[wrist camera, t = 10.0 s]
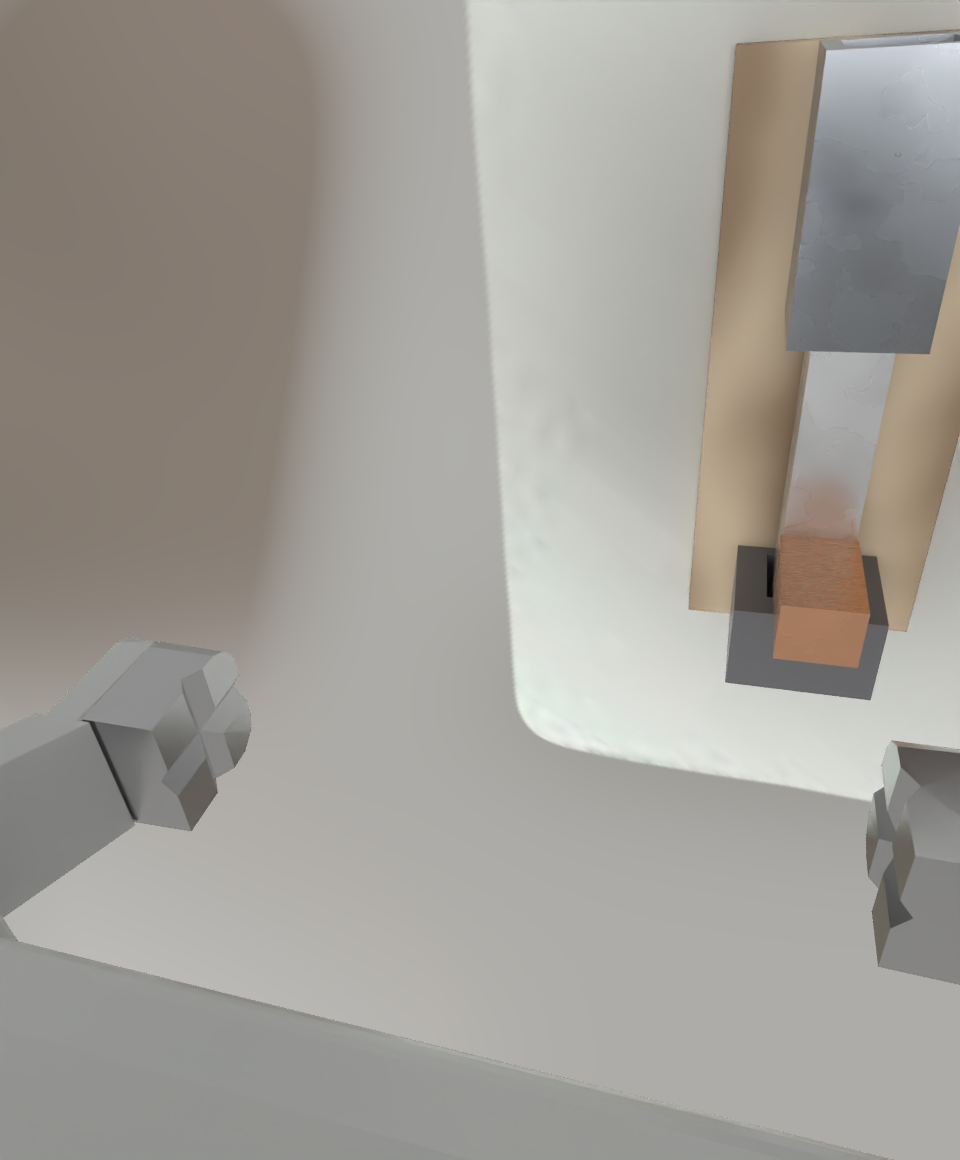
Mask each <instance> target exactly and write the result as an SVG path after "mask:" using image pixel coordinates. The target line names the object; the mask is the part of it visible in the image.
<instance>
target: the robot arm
mask: <svg viewBox="0 0 960 1160" xmlns="http://www.w3.org/2000/svg"><path fill="white" fill-rule="evenodd" d="M238 677H239V672H238V670H237V667H236V664H235V661H234V658H233V656H232V655H229V654H227V653H225V652H222V651H215V650H210V649H204V648H197V647H191V646H184V645H179V644H172V643H166V642H154V641H148V640H143V639H136V638H131V637H130V638H127V639H124V640H121V641H118V642H117V643H116V644H115V645H114V646H113V647H112V648H111V649H110V650H109V651H108V652H107V653H106V654H105V655H104V656H103V657H102V658H101V659H100V660H99V661H98V662H97V664H95V665H94V666H93V667H92V668H91V669H90V670H89V672H87V673H86V675H85V676H84V677H83V678H82V679H81V680H80V681H79V682H78V683H77V684H76V685H75V686H74V687H73V688H72V689H71V690H70V691H69V692H68V693H67V694H66V695H65V696H64V697H63V698H62V699H61V700H60V701H59V702H58V703H57V704H56V705H55V706H54V707H53V708H52V709H51V710H50V711H49V712H48V713H47V714H46V715H42V714H34V715H32V716H30V717H27V718H25V719H23V720H21V721H18V722H17V723H14V724H12V725H10V726H8V727H6V728H3V729H1V730H0V1160H893V1159H888V1158H884V1157H880V1156H876V1155H872V1154H868V1153H864V1152H860V1151H856V1150H852V1149H848V1148H844V1147H840V1146H836V1145H832V1144H828V1143H824V1142H820V1141H816V1140H812V1139H808V1138H804V1137H800V1136H796V1135H792V1134H788V1133H784V1132H780V1131H776V1130H772V1129H768V1128H764V1127H760V1126H756V1125H752V1124H748V1123H744V1122H740V1121H736V1120H732V1119H728V1118H724V1117H720V1116H716V1115H712V1114H708V1113H704V1112H700V1111H696V1110H692V1109H688V1108H684V1107H680V1106H676V1105H672V1104H668V1103H664V1102H660V1101H656V1100H652V1099H648V1098H644V1097H640V1096H636V1095H632V1094H627V1093H624V1092H620V1091H616V1090H612V1089H607V1088H604V1087H600V1086H596V1085H592V1084H588V1083H584V1082H580V1081H576V1080H572V1079H568V1078H564V1077H560V1076H556V1075H552V1074H548V1073H544V1072H540V1071H536V1070H532V1069H528V1068H524V1067H520V1066H516V1065H511V1064H508V1063H504V1062H500V1061H496V1060H492V1059H488V1058H483V1057H480V1056H475V1055H472V1054H468V1053H464V1052H460V1051H456V1050H452V1049H447V1048H444V1047H440V1046H436V1045H432V1044H428V1043H424V1042H420V1041H416V1040H412V1039H408V1038H404V1037H399V1036H395V1035H391V1034H387V1033H383V1032H379V1031H375V1030H371V1029H367V1028H363V1027H359V1026H355V1025H351V1024H347V1023H343V1022H339V1021H335V1020H331V1019H327V1018H323V1017H319V1016H315V1015H311V1014H307V1013H303V1012H298V1011H294V1010H291V1009H287V1008H283V1007H279V1006H275V1005H271V1004H266V1003H263V1002H259V1001H255V1000H251V999H246V998H242V997H238V996H234V995H230V994H226V993H222V992H218V991H214V990H210V989H206V988H202V987H198V986H194V985H190V984H186V983H182V982H178V981H174V980H170V979H166V978H162V977H158V976H154V975H150V974H146V973H142V972H138V971H134V970H130V969H126V968H122V967H118V966H114V965H110V964H106V963H102V962H98V961H94V960H90V959H86V958H82V957H78V956H74V955H70V954H66V953H62V952H58V951H54V950H50V949H46V948H42V947H38V946H34V945H30V944H26V943H22V942H18V940H17V939H16V937H15V936H14V934H13V932H12V931H11V929H10V928H9V926H8V925H7V923H6V922H5V920H4V918H3V917H5V916H6V915H7V914H9V913H10V912H12V911H13V910H14V909H16V908H17V907H19V906H20V905H22V904H23V903H25V902H26V901H27V900H29V899H30V898H32V897H33V896H35V895H36V894H37V893H39V892H40V891H42V890H43V889H45V888H46V887H47V886H49V885H50V884H52V883H53V882H54V881H56V880H57V879H59V878H60V877H62V876H63V875H65V874H66V873H67V872H69V871H70V870H72V869H73V868H74V867H76V866H77V865H78V864H80V863H82V862H83V861H85V860H86V859H87V858H89V857H90V856H92V855H93V854H94V853H96V852H97V851H99V850H100V849H102V848H103V847H105V846H106V845H107V844H109V843H110V842H112V841H113V840H115V839H116V838H118V837H119V836H120V835H122V834H123V833H125V832H126V831H128V830H129V829H130V828H132V827H133V826H134V825H135V823H134V822H139V823H144V824H150V825H156V826H162V827H168V828H175V829H181V830H187V831H192V830H193V828H194V826H195V825H196V824H197V822H198V821H199V819H200V818H201V816H202V815H203V814H204V812H205V811H206V809H207V808H208V806H209V805H210V803H211V802H212V800H213V799H214V797H215V796H216V794H217V793H218V792H217V783H216V778H217V777H219V776H221V775H222V774H224V773H226V772H228V771H229V770H231V769H233V768H235V766H236V764H237V763H238V761H239V760H240V758H241V757H242V755H243V753H244V752H245V749H246V746H247V743H248V739H249V736H250V732H251V713H250V709H249V706H248V702H247V700H246V699H245V698H244V697H243V696H242V695H241V694H240V693H239V692H238V691H237V689H235V687H233V685H234V683H235V682H236V680H237V678H238ZM881 766H882V774H883V782H884V787H883V788H882V789H880V790H878V791H877V792H875V793H874V794H873V798H872V802H871V807H870V811H869V816H868V825H867V834H866V859H867V870H868V877H869V878H870V879H871V881H872V882H873V883H874V884H875V885H876V886H877V887H878V893H877V896H876V899H875V903H874V906H873V910H872V916H873V917H872V918H873V926H874V935H875V943H876V952H877V960H878V967H882V968H887V969H891V970H896V971H900V972H905V973H909V974H914V975H918V976H923V977H928V978H932V979H937V980H941V981H945V982H950V983H954V984H959V985H960V749H955V748H947V747H939V746H931V745H923V744H915V743H907V742H899V741H891V742H890V744H889V745H888V747H887V749H886V752H885V755H884V758H883V762H882V765H881Z"/></svg>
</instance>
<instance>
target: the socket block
mask: <svg viewBox="0 0 960 1160" xmlns="http://www.w3.org/2000/svg"><path fill="white" fill-rule="evenodd" d="M774 555H775V548H768V547H755V546H743V545H738V550H737V558H736V566H735V575H734V583H733V592H732V600H731V609H730V620H729V635H728V650H727V664H726V679H725V682H727V683H735V684H743V685H751V686H759V687H767V688H776V689H784V690H792V691H800V692H808V693H816V694H824V695H832V696H840V697H848V698H856V699H865V700H871V696H872V692H873V688H874V684H875V680H876V676H877V672H878V668H879V664H880V660H881V656H882V652H883V648H884V644H885V640H886V636H887V632H888V628H889V623H888V618H887V612H886V606H885V601H884V595H883V589H882V584H881V578H880V572H879V567H878V561H877V557H876V556H864V555H861V556H862V562H863V569H864V576H865V582H866V589H867V596H868V602H869V609H870V618H869V622H868V626H867V630H866V635H865V639H864V643H863V648H862V652H861V656H860V660H859V665H858V668H852V667H843V666H835V665H826V664H817V663H808V662H800V661H791V660H782V659H774V658H773V598H772V597H768V595H769V589H770V582H771V575H772V568H773V562H774Z"/></svg>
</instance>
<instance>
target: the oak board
mask: <svg viewBox="0 0 960 1160" xmlns="http://www.w3.org/2000/svg"><path fill="white" fill-rule="evenodd" d="M945 32H960V30H944V31H928V32H912V33H897V34H881V35H865V36H849V37H833V38H817V39H801V40H786V41H770V42H754V43H738V44H736V51H735V63H734V75H733V87H732V99H731V111H730V122H729V134H728V146H727V158H726V170H725V182H724V194H723V205H722V217H721V229H720V241H719V253H718V265H717V277H716V288H715V300H714V312H713V324H712V336H711V348H710V360H709V371H708V383H707V395H706V407H705V419H704V431H703V443H702V454H701V466H700V478H699V490H698V502H697V514H696V526H695V538H694V549H693V561H692V573H691V585H690V597H689V609H690V610H700V611H709V612H719V613H729V614H730V609H731V600H732V592H733V583H734V575H735V566H736V558H737V550H738V545H743V546H755V547H768V548H776V541H777V535H778V528H779V521H780V514H781V508H782V501H783V494H784V487H785V481H786V474H787V467H788V460H789V454H790V447H791V440H792V433H793V427H794V420H795V413H796V406H797V399H798V393H799V386H800V379H801V372H802V366H803V359H804V352H805V351H786V337H785V303H786V295H787V288H788V280H789V272H790V265H791V257H792V249H793V242H794V234H795V226H796V219H797V211H798V204H799V196H800V188H801V181H802V173H803V165H804V158H805V150H806V142H807V135H808V127H809V119H810V112H811V104H812V97H813V89H814V81H815V74H816V66H817V58H818V51H819V43H820V40H833V39H849V38H865V37H881V36H897V35H913V34H929V33H945ZM959 433H960V226H959V230H958V235H957V239H956V243H955V247H954V252H953V256H952V260H951V265H950V269H949V273H948V278H947V282H946V286H945V290H944V295H943V299H942V303H941V308H940V312H939V316H938V321H937V325H936V329H935V333H934V338H933V342H932V346H931V351H930V354H895V359H894V364H893V369H892V374H891V378H890V383H889V388H888V393H887V397H886V402H885V407H884V412H883V416H882V421H881V426H880V431H879V436H878V440H877V445H876V450H875V455H874V459H873V464H872V469H871V474H870V478H869V483H868V488H867V493H866V498H865V502H864V507H863V512H862V517H861V521H860V526H859V531H858V536H857V540H858V541H859V543H860V549H861V555H864V556H876V557H877V561H878V567H879V572H880V578H881V584H882V589H883V595H884V601H885V606H886V612H887V618H888V623H889V628H888V630H893V631H903V632H907V628H908V624H909V620H910V617H911V613H912V609H913V605H914V602H915V598H916V594H917V590H918V587H919V583H920V579H921V575H922V572H923V568H924V564H925V561H926V557H927V553H928V549H929V546H930V542H931V538H932V534H933V531H934V527H935V523H936V519H937V516H938V512H939V508H940V504H941V501H942V497H943V493H944V489H945V486H946V482H947V478H948V474H949V471H950V467H951V463H952V459H953V456H954V452H955V448H956V444H957V441H958V437H959Z"/></svg>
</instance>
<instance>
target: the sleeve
mask: <svg viewBox="0 0 960 1160" xmlns="http://www.w3.org/2000/svg"><path fill="white" fill-rule="evenodd" d="M959 226H960V32H945V33H929V34H913V35H897V36H881V37H865V38H849V39H833V40H820V43H819V51H818V58H817V66H816V74H815V81H814V89H813V97H812V104H811V112H810V119H809V127H808V135H807V142H806V150H805V158H804V165H803V173H802V181H801V188H800V196H799V204H798V211H797V219H796V226H795V234H794V242H793V249H792V257H791V265H790V272H789V280H788V288H787V295H786V303H785V337H786V351H819V352H858V353H896V354H930V351H931V346H932V342H933V338H934V333H935V329H936V325H937V321H938V316H939V312H940V308H941V303H942V299H943V295H944V290H945V286H946V282H947V278H948V273H949V269H950V265H951V260H952V256H953V252H954V247H955V243H956V239H957V235H958V230H959Z"/></svg>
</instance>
